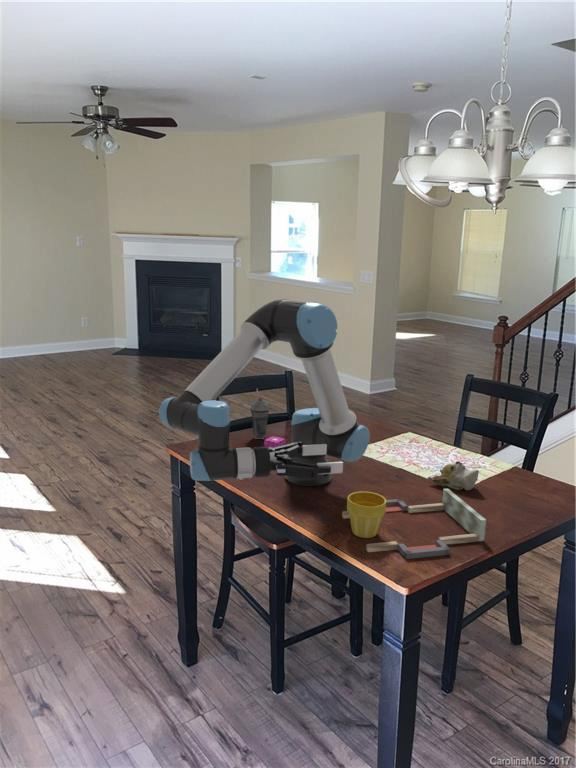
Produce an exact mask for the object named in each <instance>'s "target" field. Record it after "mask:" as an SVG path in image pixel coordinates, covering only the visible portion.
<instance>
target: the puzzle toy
mask: <svg viewBox="0 0 576 768" xmlns="http://www.w3.org/2000/svg"><path fill="white" fill-rule="evenodd" d="M286 441H287V439H286V438H282V437H278V436H269V437H268V438H265V439H263V442H264V443H263V447H267V448H274V447H278V446H282V445H287V444H286Z"/></svg>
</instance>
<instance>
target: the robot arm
mask: <svg viewBox="0 0 576 768" xmlns="http://www.w3.org/2000/svg"><path fill="white" fill-rule="evenodd" d="M336 330H338V320H337V317H336V315H335V313H334V311H333V310H332V309H331V307H329V306H327V305H325V304H321V303H318V302H315V301H308V302H307V301H300V300H293V299H292V300H291V299H287V298H279V299H274V300H272V301H269V302H268V303H266V304H264V305H262V306H261V307H260V308H259V309H257V310H256V311H254V312H253V313H252V314H251V315H249V316H248V317H247V318H246V320H244V322H243V323H241V325H240V331H239V332H238V333H237V334H236V335H235V336H234V337H233V338H232V340H230V342H228V344H226V345H225V347H224V348H223V349H222V350H221V351H220V352H219V353H218V354H217V355H216V356H215V357H214V358H213V359H212V361H210V362H209V364H208V365H206V367H205V368H204V369H202V371H201V372H200V373H199V374H198V375H197V377H195V379H194V380H193V381H192V382H191V383H190V384H189V385H188V386H187V387H186V388H185V390H183V392H181V394H179V395H178V397H176V396H175V397H173V396H171V397H168V398H165V399H164V400H163V401H162V402H161V404H160V405H159V409H158V417H159V419H160V421H161V422H162V423H163V424H164V425H166V426H168V427H170V428H171V429H174V430H178V431H182V432H185V433H187V434H190V435H192V436H195V437H197V441H198V442H197V443H198V446H197V449H194V450H192V451H190V453H189V471H190V477H191V479H192V480H193V481H197V482H198V481H199V482H200V481H204V482H206V481H209V482H211V481H212V482H213V481H221V480H232V479H233V480H236V479H237V480H240V481H242V480H244V479H250V478H252V477H255V478H267V477H269V476H270V473H271V471H276V476H279V477H283V476H284V478H285V480H286V479H287V480H288V481H287V480H286V481H287V482H288V483H290V482H291V483H290V484H292V485H296V486H302V487H320V486H323V485H326V484H328V483H330V481H331V480H332V475H333V474H343V471H344V462H350V463H354V462H357V461H358V460H360V459H361V458H362V457H363V456H364V455H365V453H366V451H367V448H368V445H369V443H370V437H371V435H370V430H369V429H368V427H367V426H365V425H364V424H360V423H359V422H358V421H359V420H358V418H357V415H356V413H355V412H354V411H353V410H351V409H349V407H348V403H347V400H346V399H347V398H346V396H345V392H344V390H343V386H342V384H341V380H340V377H339V373H338V370H337V366H336V364H335V361H334V357H333V353H332V351H331V349H332V348H333V346H334V341H336V338H337V335H338V333H337V331H336ZM279 341H280V342H285V343H289V344H290V347H291V350H292V353H293V356H294V357H296V358H298V359H299V360H301V362H302V365H303V368H304V369H303V370H304V373H305V374H306V377H307V380H308V382H309V386H310V389H311V392H312V395H313V397H314V401H315V403H316V404H315V405H316V407H309V408H301V409H298V410H296V411H294V412H293V414H292V416H291V426H290V428H291V429H290V439H291V440H290V443H288V444H286V445H282V446H278V447H274V448H267V447H264V446H255V447H253V448H251V447H237V448H236V447H235V448H230V423H231V417H230V407H229V405H228V403H227V402H225V401H222V400H217V398H218V397H219V396H220V395H221V394H222V393H223V391H225V389H226V388H227V387H228V386H229V385H230V384H231V383H232V382H233V381H234V379H235V378H236V377H237V376H238V375H239V374H240V373H241V372H242V370H243V369H245V367H246V366H247V365H248V364H249V363H250V362H251V360H253V359H254V357H256V355H257V354H258V353H259V352H260V350H266V349H267V348H268V347H269V346H271V344H273V343H275V342H279ZM328 456H330V457H332V458H335V459H338V460H341V461H330V462H329V460H328ZM343 461H344V462H343Z"/></svg>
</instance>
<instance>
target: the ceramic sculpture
mask: <svg viewBox="0 0 576 768" xmlns="http://www.w3.org/2000/svg"><path fill="white" fill-rule="evenodd" d="M439 472H440V475H434V476H433V477H432V476H431V477H430V476H429V477H427V479H428V480H429V481H431V482H433V483H435V484H438V485H447V486H449V487H460V488H463V490H465V491H471V490H472V489H474V486H475V484H476V483H477V482H478V479H479V478H478V477H479V473H480V470H479V469H468V468H466V466H465V465H464V463H462V462H460V461H456V462H455V463H452V462H450V463H448V464H445V466H443V468H442V469H439Z"/></svg>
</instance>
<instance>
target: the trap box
mask: <svg viewBox="0 0 576 768" xmlns="http://www.w3.org/2000/svg"><path fill="white" fill-rule="evenodd" d="M407 506H408V507H407V511H406V512H408V514H413V513H424V512H426V513H427V512H435V511H436V512H437V511H445V512H446V513H447V515H449V516H450V517H452V518H453V520H455V521H456V522H457V523H458V524H459V525H460V526H461V527H463V529H464V530H466V531H467V532H468V533H469V534H468V533H467V534H458V535H447V536H438V537H437V540H442V541H443V542H444V543H445V544H446V545H447V546H448V545H455V544H466V543H467V544H468V543H474V542H477V543H478V542H485V537H486V536H485V534H486V525H487V519H486V518H485V517H484V516H483V515H481V514H479V513H478V512H477V511H476V510H475V509H474V508H473V507H471V506H470V505H469V504H468V503H467V502H465V501H464V500H463V499H462V498H460V497H459V496H458V495H457V494H455V493H454V492H453V491H452V490H451V489H449V488H443V489H442V501H441V503H440V502H439V503H427V504H414V505H407ZM341 518H342V519H350V514H349V512H348V510H343V511H342V512H341ZM398 544H399V543H398V542H397V541H396V540H395V541H386V542H375V543H366V545H365V549H366V552H367V553H376V552H384V551H385V552H386V551H393V550H394V551H397V550H398Z"/></svg>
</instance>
